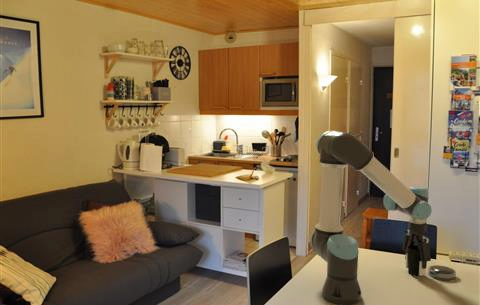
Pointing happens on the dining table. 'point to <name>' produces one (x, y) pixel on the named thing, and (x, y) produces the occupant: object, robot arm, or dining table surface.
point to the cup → (413, 260)
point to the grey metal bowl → (441, 272)
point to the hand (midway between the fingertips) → (415, 271)
